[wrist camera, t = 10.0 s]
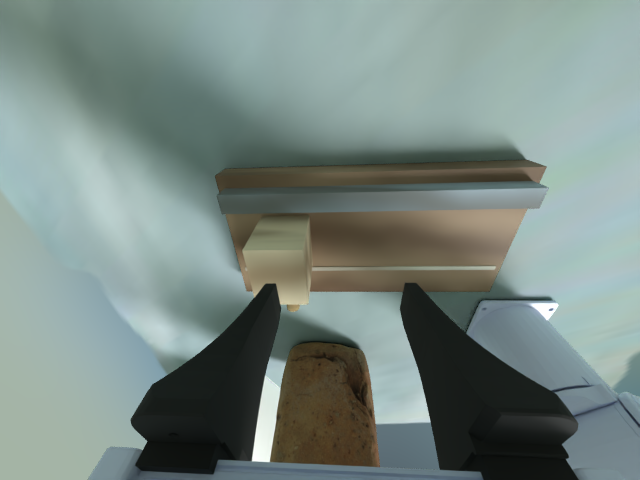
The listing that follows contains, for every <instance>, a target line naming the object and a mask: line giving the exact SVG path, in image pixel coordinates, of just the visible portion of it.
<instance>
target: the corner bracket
mask: <svg viewBox="0 0 640 480" xmlns="http://www.w3.org/2000/svg"><path fill="white" fill-rule="evenodd" d="M280 389H281V388H280V387H278V386H277V385H276V384H275V383H274V382H273V381H271V380H270V379H269V378H268V377H267V376H265V379H264V384H263V389H262V395H261V401H260V407H259V414H258V420H257V427H256V434H255V441H254V449H253V457H252V461H257V462H270V456H271V450H272V444H273V437H274V432H275V425H276V415H277V408H278V402H279V397H280Z"/></svg>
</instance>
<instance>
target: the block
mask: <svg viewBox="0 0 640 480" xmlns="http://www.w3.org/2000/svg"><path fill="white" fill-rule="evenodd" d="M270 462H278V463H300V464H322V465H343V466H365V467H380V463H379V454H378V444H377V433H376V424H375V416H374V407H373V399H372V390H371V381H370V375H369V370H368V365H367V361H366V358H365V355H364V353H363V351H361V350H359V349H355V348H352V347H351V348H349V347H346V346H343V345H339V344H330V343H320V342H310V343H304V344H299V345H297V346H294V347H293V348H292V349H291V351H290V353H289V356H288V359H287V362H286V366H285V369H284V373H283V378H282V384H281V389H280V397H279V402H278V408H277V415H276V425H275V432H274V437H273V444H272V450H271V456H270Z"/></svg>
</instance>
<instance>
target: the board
mask: <svg viewBox="0 0 640 480" xmlns="http://www.w3.org/2000/svg"><path fill="white" fill-rule="evenodd" d="M545 169H546V166H543V165H540V164H538V163H535V162H532V161H529V160H503V161H469V162H436V163H402V164H369V165H335V166H301V167H268V168H234V169H224V170H223V171H221V172H220V173H218V174H217V175H216V176H215V178H216V182H217V186H218V189H219V194H218V195H217V198H218V202H219V205H220V209H221V212H222V214H226V218H227V222H228V225H229V229H230V232H231V236H232V240H233V243H234V247H235V250H236V254H237V258H238V261H239V265H240V268H241V272H242V276H243V279H244V283H245V286H246V290H247V291H253V290H252V286H251V282H250V279H249V275H248V271H247V267H246V263H245V259H244V255H243V251H242V250H243V248H244V247H245V245H246V243H247V241H248V239H249V238H250V236H251V234H252V232H253V231H254V229H255V227H256V225H257V224H258V222H259V220H260V218H261V216H309V217H310V232H311V246H312V260H313V266H312V275H311V284H310V292H403V290H404V284H405V283H417V284H418V285H419V286H420V287H421V288H422V290H423V291H424V292H490V289H491V287H492V285H493V283H494V281H495V278H496V276H497V274H498V272H499V270H500V268H501V265H502V263H503V261H504V259H505V257H506V254H507V252H508V250H509V248H510V246H511V244H512V241H513V239H514V237H515V235H516V233H517V230H518V228H519V226H520V224H521V222H522V220H523V217H524V215H525V213H526V211H527V209H535V208H540V206H541V204H542V201H543V199H544V197H545V195H546V193H547V191H548V189H549V188H548V187H546V186H544V185H541V184H539V183H540V180H541V178H542V176H543V174H544V172H545Z"/></svg>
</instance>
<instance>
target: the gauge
mask: <svg viewBox="0 0 640 480" xmlns="http://www.w3.org/2000/svg"><path fill="white" fill-rule="evenodd" d="M242 251H243V255H244V259H245V263H246V267H247V271H248V275H249V279H250V282H251V286H252V290H253V294H254V297H255V296H256V295H257V294H258V292H259V291H260V290H261V288H262V287H263V286H264V285H265V284H266V283H276V285H277V290H278V296H279V301H280V304H287V309H288V310H289V311H291V312H294V311H297V310H298V309H299V307H300V305H308V302H309V293H310V284H311V275H312V266H313V260H312V246H311V232H310V217H309V216H261V218H260V220H259V222H258V224H257V225H256V227H255V229H254V231H253V232H252V234H251V236H250V238H249V239H248V241H247V243H246V245H245V247H244V248H243V250H242Z"/></svg>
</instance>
